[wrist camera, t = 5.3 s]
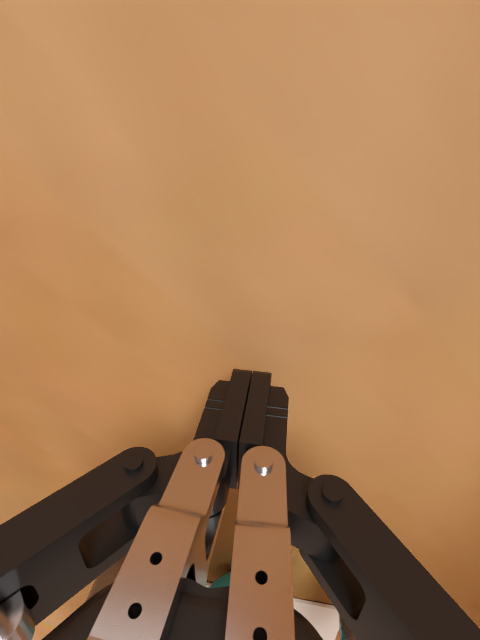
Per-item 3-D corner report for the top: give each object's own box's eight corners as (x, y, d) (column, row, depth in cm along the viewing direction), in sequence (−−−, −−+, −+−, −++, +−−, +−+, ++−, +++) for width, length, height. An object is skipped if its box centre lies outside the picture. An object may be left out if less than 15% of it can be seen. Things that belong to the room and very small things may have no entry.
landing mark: (345, 607, 25) (345, 611, 25) (318, 679, 32) (319, 682, 32) (150, 571, 27) (149, 574, 26) (166, 647, 34) (166, 650, 33)
